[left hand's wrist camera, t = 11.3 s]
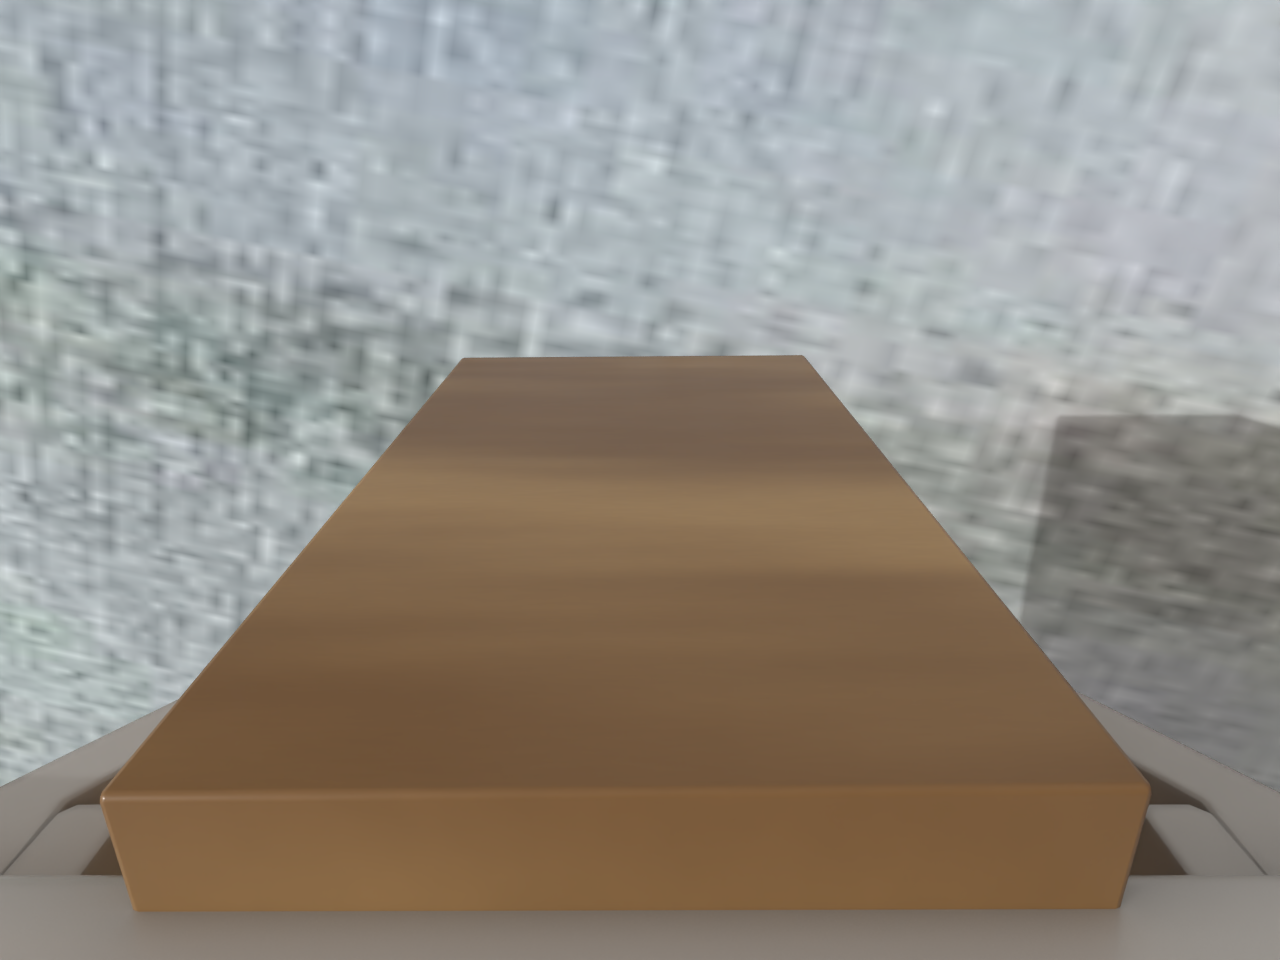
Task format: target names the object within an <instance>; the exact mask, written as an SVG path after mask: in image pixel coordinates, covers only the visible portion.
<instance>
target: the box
mask: <svg viewBox="0 0 1280 960" xmlns="http://www.w3.org/2000/svg"><path fill="white" fill-rule="evenodd" d="M1151 795H1152V791H1151V787H1150V784H1149V782H1148V781H1147V780H1146V778H1145V777H1144V776H1143V775H1142V773H1141V772H1140V771H1139V770H1138V768H1137V767H1136V766H1135V765H1134V763H1133V762H1132V761H1131V760H1130V759H1129V757H1128V756H1127V755H1126V754H1125V752H1124V751H1123V750H1122V749H1121V747H1120V746H1119V745H1118V744H1117V742H1116V741H1115V740H1114V739H1113V738H1112V736H1111V735H1110V734H1109V733H1108V731H1107V730H1106V729H1105V728H1104V726H1103V725H1102V724H1101V723H1100V721H1099V720H1098V719H1097V718H1096V717H1095V715H1094V714H1093V713H1092V712H1091V710H1090V709H1089V708H1088V707H1087V705H1086V704H1085V703H1084V702H1083V700H1082V699H1081V698H1080V697H1079V696H1078V694H1077V693H1076V692H1075V691H1074V689H1073V688H1072V687H1071V686H1070V684H1069V683H1068V682H1067V681H1066V679H1065V678H1064V677H1063V676H1062V674H1061V673H1060V672H1059V671H1058V670H1057V668H1056V667H1055V666H1054V665H1053V663H1052V662H1051V661H1050V660H1049V658H1048V657H1047V656H1046V655H1045V653H1044V652H1043V651H1042V650H1041V649H1040V647H1039V646H1038V645H1037V644H1036V642H1035V641H1034V640H1033V639H1032V637H1031V636H1030V635H1029V634H1028V632H1027V631H1026V630H1025V629H1024V628H1023V626H1022V625H1021V624H1020V623H1019V621H1018V620H1017V619H1016V618H1015V616H1014V615H1013V614H1012V613H1011V611H1010V610H1009V609H1008V608H1007V606H1006V605H1005V604H1004V603H1003V602H1002V600H1001V599H1000V598H999V597H998V595H997V594H996V593H995V592H994V590H993V589H992V588H991V587H990V585H989V584H988V583H987V582H986V581H985V579H984V578H983V577H982V576H981V574H980V573H979V572H978V571H977V569H976V568H975V567H974V566H973V564H972V563H971V562H970V561H969V560H968V558H967V557H966V556H965V555H964V553H963V552H962V551H961V550H960V548H959V547H958V546H957V545H956V543H955V542H954V541H953V540H952V538H951V537H950V536H949V535H948V534H947V532H946V531H945V530H944V529H943V527H942V526H941V525H940V524H939V522H938V521H937V520H936V519H935V517H934V516H933V515H932V514H931V513H930V511H929V510H928V509H927V508H926V506H925V505H924V504H923V503H922V501H921V500H920V499H919V498H918V496H917V495H916V494H915V493H914V492H913V490H912V489H911V488H910V487H909V485H908V484H907V483H906V482H905V480H904V479H903V478H902V477H901V475H900V474H899V473H898V472H897V471H896V469H895V468H894V467H893V466H892V464H891V463H890V462H889V461H888V459H887V458H886V457H885V456H884V454H883V453H882V452H881V451H880V449H879V448H878V447H877V446H876V445H875V443H874V442H873V441H872V440H871V438H870V437H869V436H868V435H867V433H866V432H865V431H864V430H863V428H862V427H861V426H860V425H859V424H858V422H857V421H856V420H855V419H854V417H853V416H852V415H851V414H850V412H849V411H848V410H847V409H846V407H845V406H844V405H843V404H842V403H841V401H840V400H839V399H838V398H837V396H836V395H835V394H834V393H833V391H832V390H831V389H830V388H829V386H828V385H827V384H826V383H825V381H824V380H823V379H822V378H821V377H820V375H819V374H818V373H817V372H816V370H815V369H814V368H813V367H812V365H811V364H810V363H809V362H808V360H807V359H806V358H805V357H804V356H802V355H783V356H647V357H511V358H463V359H461V361H460V362H459V363H458V364H457V365H456V367H455V368H454V369H453V370H452V372H451V373H450V374H449V375H448V376H447V378H446V379H445V380H444V381H443V382H442V384H441V385H440V386H439V387H438V388H437V390H436V391H435V392H434V393H433V394H432V396H431V397H430V398H429V399H428V400H427V402H426V403H425V404H424V405H423V406H422V408H421V409H420V410H419V411H418V412H417V414H416V415H415V416H414V417H413V418H412V420H411V421H410V422H409V423H408V424H407V426H406V427H405V428H404V429H403V430H402V432H401V433H400V434H399V435H398V436H397V438H396V439H395V440H394V441H393V442H392V444H391V445H390V446H389V447H388V448H387V450H386V451H385V452H384V453H383V454H382V456H381V457H380V458H379V459H378V460H377V462H376V463H375V464H374V465H373V466H372V468H371V469H370V470H369V471H368V472H367V474H366V475H365V476H364V477H363V478H362V480H361V481H360V482H359V483H358V484H357V486H356V487H355V488H354V489H353V490H352V492H351V493H350V494H349V495H348V497H347V498H346V499H345V500H344V501H343V503H342V504H341V505H340V506H339V507H338V509H337V510H336V511H335V512H334V513H333V515H332V516H331V517H330V518H329V519H328V521H327V522H326V523H325V524H324V525H323V527H322V528H321V529H320V530H319V531H318V533H317V534H316V535H315V536H314V537H313V539H312V540H311V541H310V542H309V543H308V545H307V546H306V547H305V548H304V549H303V551H302V552H301V553H300V554H299V555H298V557H297V558H296V559H295V560H294V561H293V563H292V564H291V565H290V566H289V567H288V569H287V570H286V571H285V572H284V573H283V575H282V576H281V577H280V578H279V579H278V581H277V582H276V583H275V584H274V585H273V587H272V588H271V589H270V590H269V591H268V593H267V594H266V595H265V596H264V597H263V599H262V600H261V601H260V602H259V603H258V605H257V606H256V607H255V608H254V609H253V611H252V612H251V613H250V614H249V615H248V617H247V618H246V619H245V620H244V622H243V623H242V624H241V625H240V626H239V628H238V629H237V630H236V631H235V632H234V634H233V635H232V636H231V637H230V638H229V640H228V641H227V642H226V643H225V644H224V646H223V647H222V648H221V649H220V650H219V652H218V653H217V654H216V655H215V656H214V658H213V659H212V660H211V661H210V662H209V664H208V665H207V666H206V667H205V668H204V670H203V671H202V672H201V673H200V674H199V676H198V677H197V678H196V679H195V680H194V682H193V683H192V684H191V685H190V686H189V688H188V689H187V690H186V691H185V692H184V694H183V695H182V696H181V697H180V698H179V700H178V701H177V702H176V703H175V704H174V706H173V707H172V708H171V709H170V710H169V712H168V713H167V714H166V715H165V716H164V718H163V719H162V720H161V721H160V722H159V724H158V725H157V726H156V727H155V728H154V730H153V731H152V732H151V733H150V734H149V736H148V737H147V738H146V739H145V740H144V742H143V743H142V744H141V745H140V747H139V748H138V749H137V750H136V751H135V753H134V754H133V755H132V756H131V757H130V759H129V760H128V761H127V762H126V763H125V765H124V766H123V767H122V768H121V769H120V771H119V772H118V773H117V774H116V775H115V777H114V778H113V779H112V780H111V781H110V783H109V784H108V785H107V786H106V787H105V789H104V790H103V791H102V793H101V796H100V805H101V808H102V812H103V815H104V818H105V821H106V824H107V827H108V831H109V834H110V837H111V840H112V843H113V847H114V850H115V853H116V856H117V859H118V863H119V866H120V869H121V872H122V875H123V878H124V882H125V885H126V888H127V891H128V894H129V898H130V901H131V904H132V907H133V910H135V911H138V912H229V911H590V910H947V909H1116V908H1119V907H1120V906H1121V903H1122V899H1123V895H1124V892H1125V888H1126V885H1127V881H1128V878H1129V874H1130V870H1131V867H1132V863H1133V860H1134V856H1135V852H1136V849H1137V845H1138V842H1139V838H1140V835H1141V831H1142V827H1143V824H1144V820H1145V817H1146V813H1147V809H1148V806H1149V802H1150V799H1151Z"/></svg>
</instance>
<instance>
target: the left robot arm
mask: <svg viewBox="0 0 1280 960" xmlns="http://www.w3.org/2000/svg"><path fill="white" fill-rule="evenodd" d="M1077 694H1078V696H1079V697H1080V698H1081V699H1082V700H1083V702H1084V703H1085V704H1086V705H1087V707H1088V708H1089V709H1090V710H1091V712H1092V713H1093V714H1094V715H1095V717H1096V718H1097V719H1098V720H1099V721H1100V723H1101V724H1102V725H1103V726H1104V728H1105V729H1106V730H1107V731H1108V733H1109V734H1110V735H1111V736H1112V738H1113V739H1114V740H1115V741H1116V742H1117V744H1118V745H1119V746H1120V747H1121V749H1122V750H1123V751H1124V752H1125V754H1126V755H1127V756H1128V757H1129V759H1130V760H1131V761H1132V762H1133V763H1134V765H1135V766H1136V767H1137V768H1138V770H1139V771H1140V772H1141V773H1142V775H1143V776H1144V777H1145V778H1146V780H1147V781H1148V782H1149V784H1150V787H1151V791H1152V795H1151V799H1150V802H1149V806H1148V809H1147V813H1146V817H1145V820H1144V824H1143V827H1142V831H1141V835H1140V838H1139V842H1138V845H1137V849H1136V852H1135V856H1134V860H1133V863H1132V867H1131V870H1130V874H1129V878H1128V881H1127V885H1126V888H1125V892H1124V895H1123V899H1122V903H1121V906H1120V907H1119V908H1116V909H947V910H590V911H229V912H138V911H135V910H133V907H132V904H131V901H130V898H129V894H128V891H127V888H126V885H125V882H124V878H123V875H122V872H121V869H120V866H119V863H118V859H117V856H116V853H115V850H114V847H113V843H112V840H111V837H110V834H109V831H108V827H107V824H106V821H105V818H104V815H103V812H102V808H101V805H100V796H101V793H102V791H103V790H104V789H105V787H106V786H107V785H108V784H109V783H110V781H111V780H112V779H113V778H114V777H115V775H116V774H117V773H118V772H119V771H120V769H121V768H122V767H123V766H124V765H125V763H126V762H127V761H128V760H129V759H130V757H131V756H132V755H133V754H134V753H135V751H136V750H137V749H138V748H139V747H140V745H141V744H142V743H143V742H144V740H145V739H146V738H147V737H148V736H149V734H150V733H151V732H152V731H153V730H154V728H155V727H156V726H157V725H158V724H159V722H160V721H161V720H162V719H163V718H164V716H165V715H166V714H167V713H168V712H169V710H170V709H171V708H172V707H173V706H174V704H175V703H176V702H177V701H178V700H179V699H178V700H176V701H174V702H172V703H170V704H168V705H166V706H164V707H162V708H160V709H158V710H156V711H154V712H152V713H150V714H147V715H145V716H143V717H141V718H139V719H137V720H135V721H133V722H131V723H129V724H127V725H125V726H123V727H121V728H119V729H117V730H115V731H113V732H111V733H109V734H107V735H105V736H103V737H101V738H99V739H97V740H95V741H93V742H91V743H89V744H87V745H85V746H82V747H80V748H78V749H76V750H74V751H72V752H70V753H68V754H66V755H64V756H62V757H60V758H58V759H56V760H54V761H52V762H50V763H48V764H46V765H44V766H42V767H40V768H38V769H36V770H34V771H32V772H30V773H28V774H26V775H24V776H22V777H19V778H17V779H15V780H13V781H11V782H9V783H7V784H5V785H3V786H1V787H0V960H1280V793H1279V792H1277V791H1275V790H1273V789H1271V788H1269V787H1267V786H1265V785H1263V784H1261V783H1259V782H1257V781H1255V780H1253V779H1251V778H1249V777H1247V776H1245V775H1243V774H1241V773H1239V772H1237V771H1235V770H1233V769H1231V768H1229V767H1227V766H1225V765H1223V764H1221V763H1219V762H1217V761H1215V760H1213V759H1211V758H1209V757H1207V756H1205V755H1203V754H1201V753H1199V752H1197V751H1195V750H1193V749H1191V748H1189V747H1187V746H1185V745H1183V744H1181V743H1179V742H1177V741H1175V740H1173V739H1171V738H1169V737H1167V736H1165V735H1163V734H1161V733H1159V732H1157V731H1155V730H1153V729H1151V728H1149V727H1147V726H1145V725H1143V724H1141V723H1139V722H1137V721H1135V720H1133V719H1131V718H1129V717H1127V716H1125V715H1123V714H1121V713H1119V712H1117V711H1115V710H1113V709H1111V708H1109V707H1107V706H1105V705H1103V704H1101V703H1099V702H1097V701H1095V700H1093V699H1091V698H1089V697H1087V696H1085V695H1083V694H1081V693H1077Z"/></svg>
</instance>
